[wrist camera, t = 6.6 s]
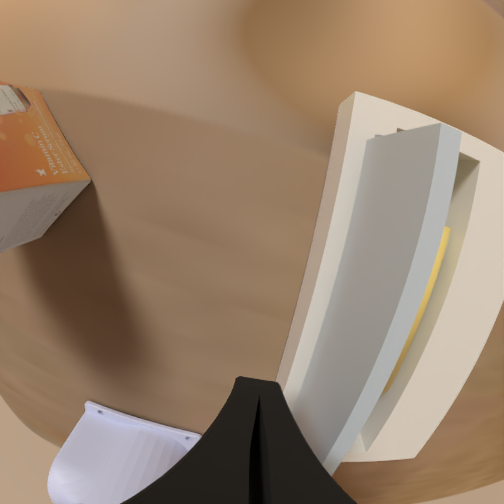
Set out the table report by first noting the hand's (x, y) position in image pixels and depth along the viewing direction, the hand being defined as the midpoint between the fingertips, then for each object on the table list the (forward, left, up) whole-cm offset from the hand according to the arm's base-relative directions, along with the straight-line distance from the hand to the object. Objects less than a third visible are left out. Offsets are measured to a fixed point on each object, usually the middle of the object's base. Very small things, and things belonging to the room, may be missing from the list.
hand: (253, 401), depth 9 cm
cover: (+3, +1, -1) cm, 4 cm away
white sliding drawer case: (+7, +1, -7) cm, 11 cm away
